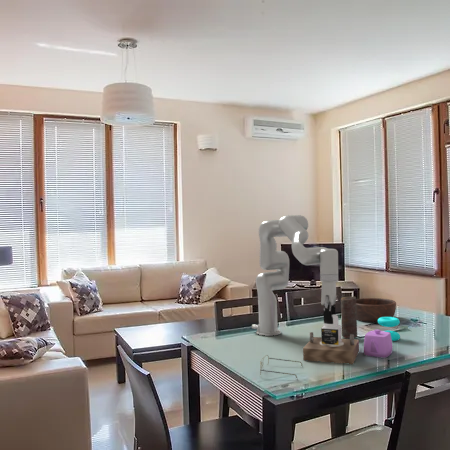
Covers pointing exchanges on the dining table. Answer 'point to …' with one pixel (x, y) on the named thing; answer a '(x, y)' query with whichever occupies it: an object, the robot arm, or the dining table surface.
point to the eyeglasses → (273, 371)
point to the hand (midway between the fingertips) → (329, 317)
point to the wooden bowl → (374, 309)
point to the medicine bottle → (331, 332)
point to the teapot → (378, 343)
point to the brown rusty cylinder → (348, 317)
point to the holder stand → (331, 350)
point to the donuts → (390, 323)
